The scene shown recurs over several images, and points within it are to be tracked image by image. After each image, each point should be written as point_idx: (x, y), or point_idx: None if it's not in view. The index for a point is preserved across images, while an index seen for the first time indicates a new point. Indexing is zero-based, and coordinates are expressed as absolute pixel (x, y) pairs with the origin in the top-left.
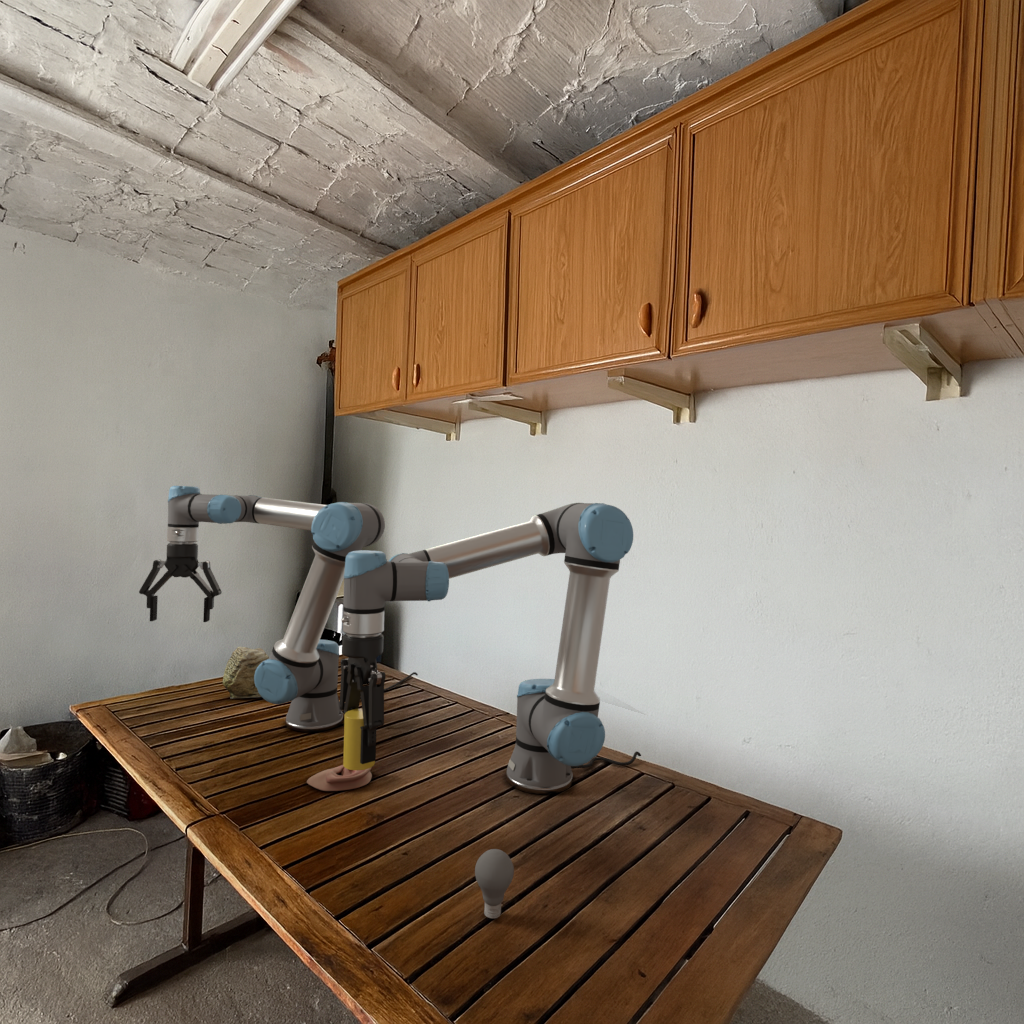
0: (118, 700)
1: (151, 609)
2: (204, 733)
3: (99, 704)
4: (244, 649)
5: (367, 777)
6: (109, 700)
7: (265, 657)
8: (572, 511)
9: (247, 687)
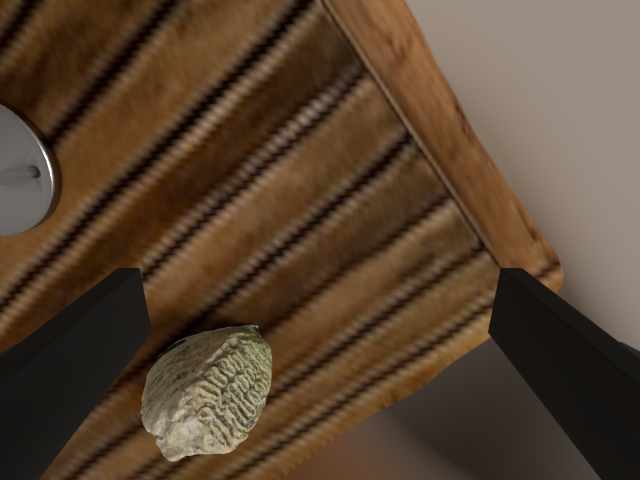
0: None
1: (573, 317)
2: (225, 94)
3: None
4: (200, 434)
5: None
6: None
7: (148, 416)
8: None
9: (210, 338)
